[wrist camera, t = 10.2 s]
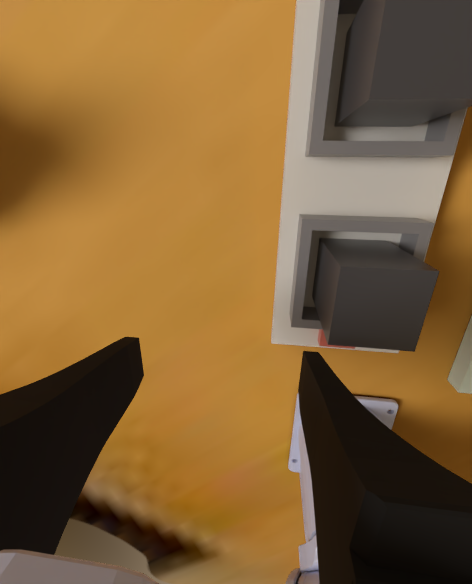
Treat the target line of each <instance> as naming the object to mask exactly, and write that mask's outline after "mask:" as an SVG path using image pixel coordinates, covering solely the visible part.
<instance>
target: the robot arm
mask: <svg viewBox="0 0 472 584" xmlns="http://www.w3.org/2000/svg"><path fill="white" fill-rule="evenodd" d="M143 376H144V372H143V365H142V358H141V350H140V343H139V338H134V337H124V338H122V339H120V340H118V341H116V342H114V343H112V344H110V345H108V346H107V347H105V348H103V349H101V350H99V351H98V352H96V353H94V354H92V355H90V356H88V357H86V358H85V359H83V360H81V361H79V362H77V363H75V364H73V365H71V366H69V367H67V368H65V369H63V370H61V371H59V372H57V373H55V374H52V375H50V376H48V377H46V378H43V379H41V380H38V381H36V382H34V383H31V384H29V385H26V386H23V387H21V388H18V389H15V390H12V391H9V392H7V393H4V394H1V395H0V584H159V583H157V582H156V581H154V580H153V579H151V578H150V577H148V576H147V575H145V574H144V573H141V572H137V571H134V570H131V569H128V568H125V567H121V566H116V565H109V564H103V563H98V562H92V561H85V560H80V559H74V558H68V557H62V556H57V555H54V553H55V551H56V548H57V546H58V544H59V541H60V538H61V536H62V534H63V531H64V529H65V527H66V525H67V522H68V520H69V518H70V515H71V513H72V511H73V508H74V506H75V504H76V502H77V499H78V497H79V495H80V493H81V491H82V489H83V487H84V484H85V482H86V480H87V478H88V476H89V474H90V472H91V470H92V468H93V466H94V464H95V462H96V460H97V458H98V456H99V454H100V452H101V450H102V448H103V447H104V445H105V443H106V441H107V440H108V438H109V436H110V435H111V433H112V432H113V430H114V428H115V427H116V425H117V424H118V422H119V421H120V419H121V417H122V416H123V414H124V413H125V411H126V409H127V408H128V406H129V404H130V403H131V401H132V399H133V398H134V396H135V394H136V392H137V390H138V388H139V386H140V383H141V381H142V379H143ZM298 392H299V393H298V394H297V400H296V407H295V415H294V423H293V431H292V439H291V447H290V455H289V463H288V468H289V470H290V471H293V472H299V473H300V484H301V495H302V506H303V518H304V529H305V538H306V543H305V544H302V545H300V546H299V559H300V568H296V569H295V570H293V571H292V572H291V573H290V574H289V576H288V578H287V581H286V584H472V484H471V483H469V482H468V481H466V480H464V479H463V478H461V477H459V476H457V475H456V474H454V473H452V472H451V471H449V470H447V469H446V468H444V467H443V466H441V465H439V464H438V463H436V462H435V461H433V460H432V459H430V458H429V457H427V456H426V455H424V454H423V453H421V452H420V451H419V450H417V449H416V448H414V447H413V446H412V445H410V444H409V443H407V442H406V441H405V440H403V439H402V438H401V437H400V436H398V435H397V434H396V433H394V432H393V431H392V426H393V423H394V420H395V417H396V413H397V410H398V404H397V402H396V401H395V400H393V399H383V398H373V397H362V396H354V395H353V394H352V393H351V392H350V391H349V390H348V389H347V388H346V386H345V385H344V384H343V383H342V382H341V381H340V379H339V378H338V377H337V376H336V374H335V373H334V372H333V371H332V369H331V368H330V367H329V365H328V364H327V363H326V362H325V360H324V359H323V357H322V356H321V355H320V354H319V353H318V352H309V351H303V358H302V366H301V373H300V381H299V389H298ZM388 410H390V411H388Z"/></svg>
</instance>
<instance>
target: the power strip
mask: <svg viewBox="0 0 472 584" xmlns="http://www.w3.org/2000/svg"><path fill="white" fill-rule="evenodd" d="M363 1H364V0H296V10H295V24H294V37H293V51H292V64H291V78H290V91H289V105H288V118H287V132H286V145H285V159H284V172H283V186H282V199H281V213H280V226H279V240H278V253H277V267H276V280H275V294H274V307H273V321H272V334H271V343H274V344H287V345H299V346H312V347H325V348H338V349H350V350H363V351H376V352H389V353H398V352H399V350H401V351H414V352H415V349H416V345H417V342H418V339H419V336H420V332H421V329H422V326H423V323H424V319H425V316H426V313H427V310H428V306H429V303H430V300H431V297H432V293H433V290H434V287H435V284H436V281H437V277H438V274H439V271H438V270H437V269H435V268H433V267H431V266H430V265H428V264H426V263H425V262H424V260H425V257H426V253H427V250H428V246H429V243H430V239H431V236H432V232H433V229H434V225H435V222H436V218H437V214H438V211H439V207H440V204H441V200H442V197H443V193H444V190H445V186H446V183H447V179H448V176H449V172H450V169H451V165H452V161H453V158H454V154H455V151H456V147H457V144H458V140H459V137H460V133H461V130H462V126H463V123H464V119H465V115H466V112H467V108H468V107H467V108H464V109H461V110H458V111H456V112H453V113H450V114H447V115H444V116H441V117H438V118H435V119H432V120H430V121H427V122H424V123H421V124H418V125H415V126H412V127H334V125H335V118H336V110H337V103H338V95H339V88H340V80H341V72H342V65H343V57H344V50H345V42H346V34H347V31H348V29H349V27H350V26H351V24H352V22H353V20H354V18H355V16H356V14H357V12H358V10H359V8H360V6H361V5H362V3H363Z"/></svg>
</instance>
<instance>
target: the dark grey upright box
mask: <svg viewBox="0 0 472 584" xmlns="http://www.w3.org/2000/svg"><path fill="white" fill-rule="evenodd" d="M470 106H472V0H364V1H363V3H362V5H361V6H360V8H359V10H358V12H357V14H356V16H355V18H354V20H353V22H352V24H351V26H350V27H349V29H348V31H347V34H346V42H345V50H344V57H343V65H342V72H341V80H340V88H339V95H338V103H337V110H336V118H335V125H334V127H412V126H415V125H418V124H421V123H424V122H427V121H430V120H432V119H435V118H438V117H441V116H444V115H447V114H450V113H453V112H456V111H458V110H461V109H464V108H467V107H470Z"/></svg>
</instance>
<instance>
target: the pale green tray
mask: <svg viewBox="0 0 472 584" xmlns="http://www.w3.org/2000/svg"><path fill="white" fill-rule="evenodd" d="M447 380H448V381H449V382H450V383H451V385H452V386H453V387H454V388H455V389H456V390H457V392H459V393H470V394H472V316H471V318H470V321H469V324H468V326H467V329H466V331H465V334H464V337H463V339H462V342H461V345H460V347H459V350H458V353H457V355H456V358H455V361H454V363H453V366H452V368H451V371H450V374H449V376H448V379H447Z"/></svg>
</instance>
